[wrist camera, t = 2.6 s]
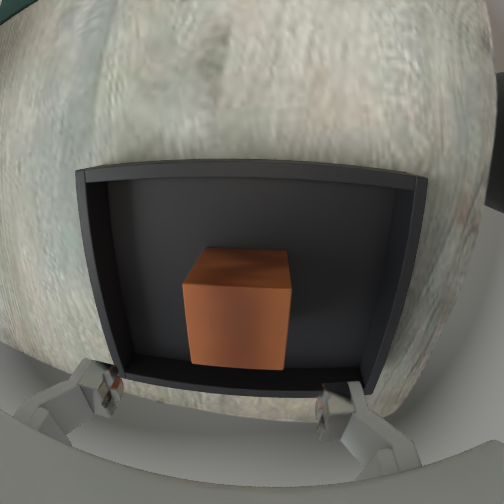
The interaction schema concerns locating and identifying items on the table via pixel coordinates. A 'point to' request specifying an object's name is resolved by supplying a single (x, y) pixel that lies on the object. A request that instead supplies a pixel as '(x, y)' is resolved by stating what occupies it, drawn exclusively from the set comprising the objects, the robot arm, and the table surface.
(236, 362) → the block
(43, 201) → the table surface
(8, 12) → the mat
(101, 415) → the robot arm
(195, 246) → the baking pan
